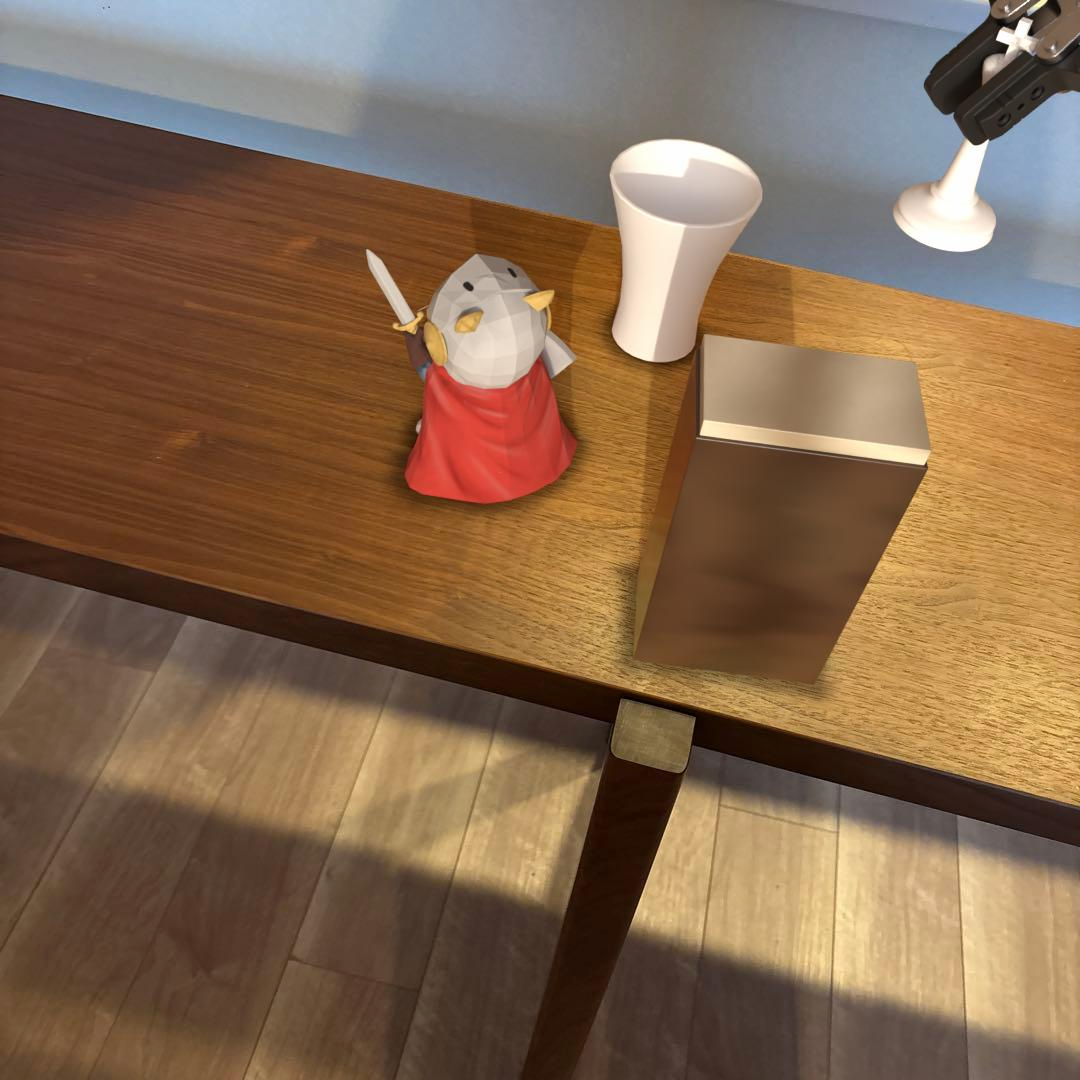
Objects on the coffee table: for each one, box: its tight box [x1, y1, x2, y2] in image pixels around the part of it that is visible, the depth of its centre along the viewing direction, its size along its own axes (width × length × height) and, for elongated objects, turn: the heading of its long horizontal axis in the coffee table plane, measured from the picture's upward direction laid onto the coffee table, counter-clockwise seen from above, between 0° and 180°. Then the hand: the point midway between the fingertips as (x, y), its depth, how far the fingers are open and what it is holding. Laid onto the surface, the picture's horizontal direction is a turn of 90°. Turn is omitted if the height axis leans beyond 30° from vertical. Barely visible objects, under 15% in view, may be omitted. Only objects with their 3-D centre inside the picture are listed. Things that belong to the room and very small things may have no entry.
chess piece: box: [892, 17, 1042, 253], centre depth 51 cm, size 5×5×10 cm
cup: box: [609, 138, 764, 363], centre depth 80 cm, size 10×10×14 cm
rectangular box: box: [632, 333, 932, 685], centre depth 60 cm, size 11×6×20 cm, turn 84°
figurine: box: [365, 248, 579, 505], centre depth 71 cm, size 13×11×15 cm
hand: (949, 114), depth 50 cm, fingers closed on chess piece
